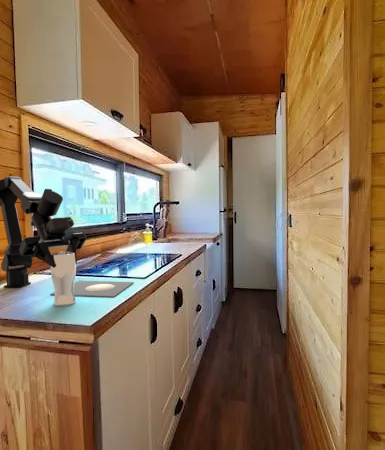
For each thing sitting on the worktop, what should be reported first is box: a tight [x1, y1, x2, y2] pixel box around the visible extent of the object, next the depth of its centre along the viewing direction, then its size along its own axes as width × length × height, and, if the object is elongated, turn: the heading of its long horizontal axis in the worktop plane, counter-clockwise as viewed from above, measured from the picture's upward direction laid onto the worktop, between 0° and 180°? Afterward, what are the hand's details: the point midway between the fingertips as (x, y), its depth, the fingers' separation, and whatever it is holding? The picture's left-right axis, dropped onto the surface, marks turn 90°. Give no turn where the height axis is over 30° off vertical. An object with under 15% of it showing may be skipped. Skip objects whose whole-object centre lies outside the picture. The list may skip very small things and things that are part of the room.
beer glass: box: [50, 251, 77, 307], centre depth 90 cm, size 7×7×15 cm
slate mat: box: [49, 280, 134, 298], centre depth 106 cm, size 22×18×1 cm
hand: (65, 265), depth 89 cm, fingers closed on beer glass, 6 cm apart
